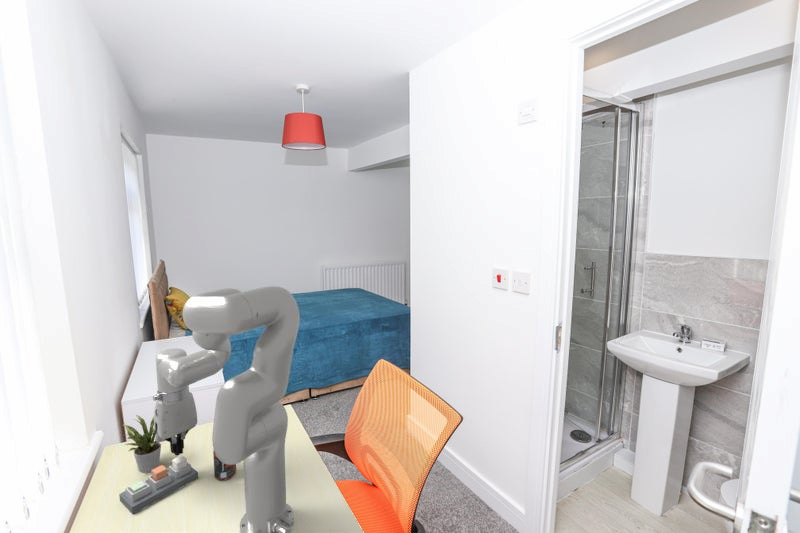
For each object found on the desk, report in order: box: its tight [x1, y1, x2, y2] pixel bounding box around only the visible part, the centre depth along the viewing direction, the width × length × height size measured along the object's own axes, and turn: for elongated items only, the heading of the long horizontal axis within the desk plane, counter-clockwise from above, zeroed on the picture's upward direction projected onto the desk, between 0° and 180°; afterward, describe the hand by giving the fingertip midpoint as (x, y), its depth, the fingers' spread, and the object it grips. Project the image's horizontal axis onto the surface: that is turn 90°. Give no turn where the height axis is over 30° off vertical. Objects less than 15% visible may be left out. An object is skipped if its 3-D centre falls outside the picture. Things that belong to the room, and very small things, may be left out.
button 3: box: [171, 454, 188, 471], centre depth 114 cm, size 3×3×2 cm
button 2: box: [150, 464, 168, 482], centre depth 110 cm, size 3×3×2 cm
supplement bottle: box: [212, 449, 237, 481], centre depth 116 cm, size 6×6×11 cm
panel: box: [118, 461, 199, 515], centre depth 110 cm, size 8×17×4 cm, turn 145°
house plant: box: [121, 414, 162, 474], centre depth 120 cm, size 14×14×16 cm
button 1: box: [128, 480, 146, 493], centre depth 106 cm, size 3×3×2 cm
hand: (177, 452), depth 114 cm, fingers closed
